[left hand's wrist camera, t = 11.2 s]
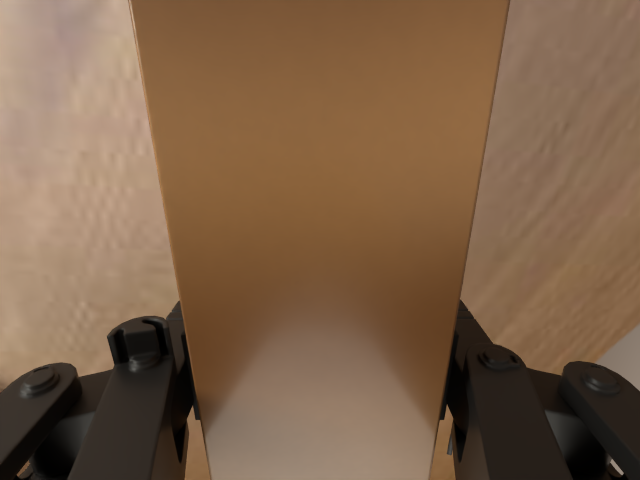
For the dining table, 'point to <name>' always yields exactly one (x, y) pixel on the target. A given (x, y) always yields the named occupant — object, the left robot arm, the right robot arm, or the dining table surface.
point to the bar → (319, 218)
